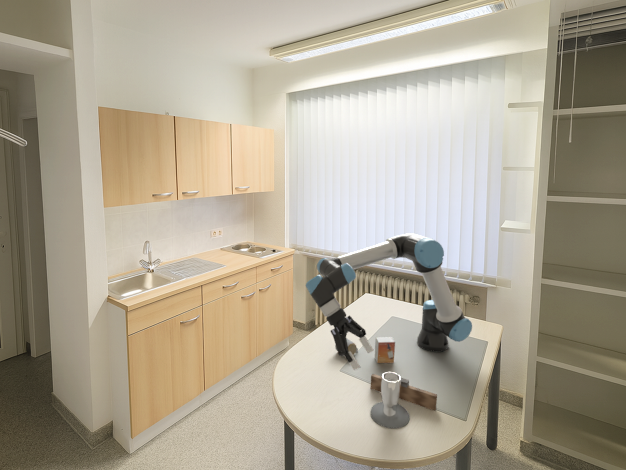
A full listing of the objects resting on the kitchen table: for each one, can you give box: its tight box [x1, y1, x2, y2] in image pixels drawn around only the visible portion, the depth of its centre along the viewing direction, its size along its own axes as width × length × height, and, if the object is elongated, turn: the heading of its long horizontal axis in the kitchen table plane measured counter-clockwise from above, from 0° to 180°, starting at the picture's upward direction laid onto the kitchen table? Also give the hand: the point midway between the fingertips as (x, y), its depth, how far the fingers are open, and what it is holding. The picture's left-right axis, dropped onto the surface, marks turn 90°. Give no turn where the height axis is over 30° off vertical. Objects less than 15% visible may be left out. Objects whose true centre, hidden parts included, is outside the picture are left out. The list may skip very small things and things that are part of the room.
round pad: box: [370, 401, 410, 429], centre depth 138 cm, size 14×14×1 cm
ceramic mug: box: [334, 337, 359, 356], centre depth 181 cm, size 11×8×8 cm
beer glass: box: [380, 371, 402, 419], centre depth 136 cm, size 7×7×15 cm
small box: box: [374, 336, 396, 364], centre depth 174 cm, size 8×6×10 cm
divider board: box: [370, 373, 438, 412], centre depth 147 cm, size 26×2×8 cm, turn 59°
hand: (364, 359), depth 143 cm, fingers open, 13 cm apart
